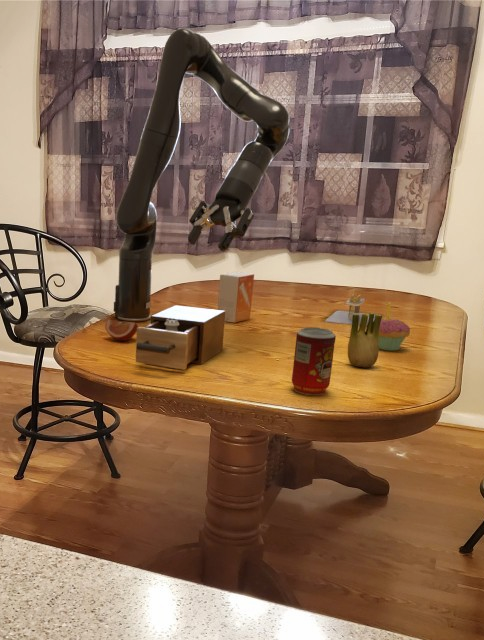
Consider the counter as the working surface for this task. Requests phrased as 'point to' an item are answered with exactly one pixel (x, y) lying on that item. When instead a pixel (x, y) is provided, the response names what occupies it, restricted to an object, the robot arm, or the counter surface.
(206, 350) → the cabinet
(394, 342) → the cupcake
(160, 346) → the drawer
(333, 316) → the platform
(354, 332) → the fennel bulb
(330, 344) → the red food can
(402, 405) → the counter surface
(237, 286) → the small box
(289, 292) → the counter surface
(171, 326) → the rook chess piece
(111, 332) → the fruit slice
